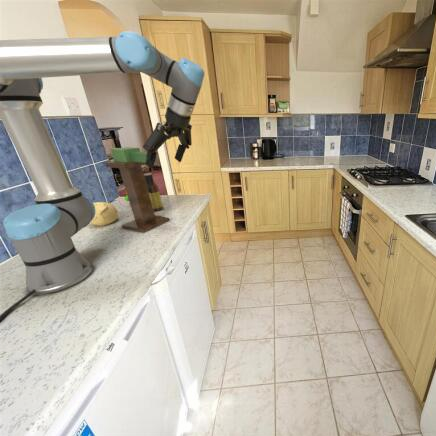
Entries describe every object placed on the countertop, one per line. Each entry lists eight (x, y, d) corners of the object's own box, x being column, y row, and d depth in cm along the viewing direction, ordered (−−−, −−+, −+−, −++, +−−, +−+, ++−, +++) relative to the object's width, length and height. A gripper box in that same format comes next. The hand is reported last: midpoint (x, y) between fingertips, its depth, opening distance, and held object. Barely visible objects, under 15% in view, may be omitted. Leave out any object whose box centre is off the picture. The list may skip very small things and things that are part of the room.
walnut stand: (144, 232, 107) (123, 164, 95) (122, 227, 112) (100, 162, 100) (169, 220, 119) (154, 158, 107) (149, 216, 124) (132, 157, 112)
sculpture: (83, 227, 113) (75, 206, 109) (106, 217, 124) (98, 197, 120) (104, 228, 111) (96, 207, 107) (125, 218, 122) (118, 198, 118)
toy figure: (146, 163, 95) (142, 150, 93) (107, 161, 103) (104, 149, 101) (160, 160, 101) (158, 148, 99) (123, 158, 109) (120, 146, 107)
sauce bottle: (152, 208, 135) (142, 173, 127) (164, 206, 137) (155, 172, 129) (149, 212, 129) (139, 175, 122) (162, 210, 131) (153, 174, 123)
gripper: (157, 118, 70) (143, 175, 81) (211, 117, 92) (194, 163, 102) (138, 102, 70) (126, 162, 81) (196, 105, 92) (180, 152, 103)
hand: (164, 163), depth 92 cm, fingers open, 13 cm apart
